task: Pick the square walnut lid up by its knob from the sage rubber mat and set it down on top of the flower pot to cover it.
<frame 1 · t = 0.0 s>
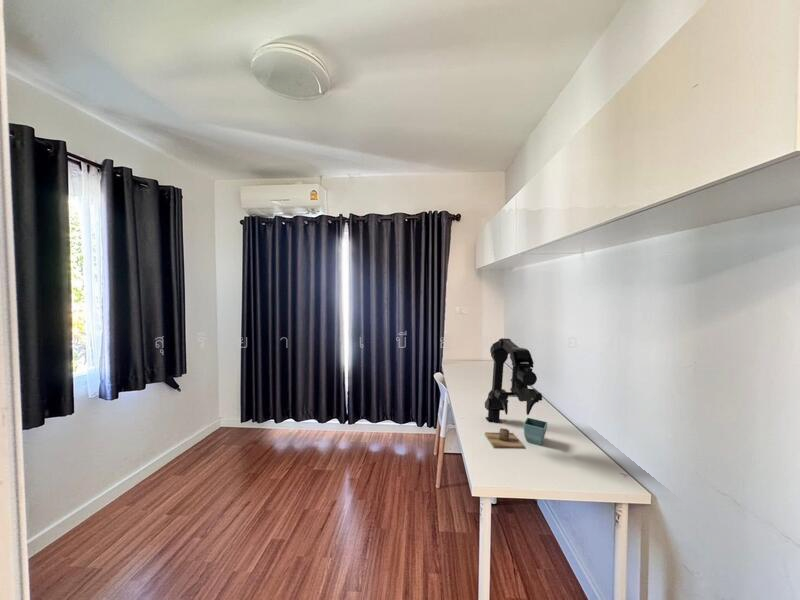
hand: (516, 414, 146), 15 cm above the table, fingers open, 9 cm apart
mat: (503, 442, 152), on the table
lid: (503, 440, 152), resting on mat
flower pot: (534, 442, 152), on the table
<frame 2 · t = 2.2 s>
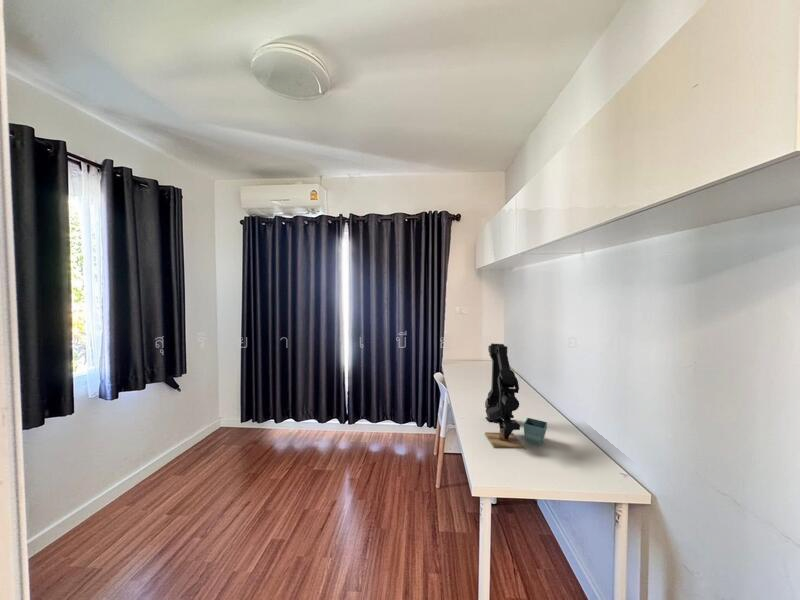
hand: (504, 436, 151), 2 cm above the table, fingers closed on lid, 4 cm apart
lid: (503, 440, 152), resting on mat, touching gripper
everything else where it was.
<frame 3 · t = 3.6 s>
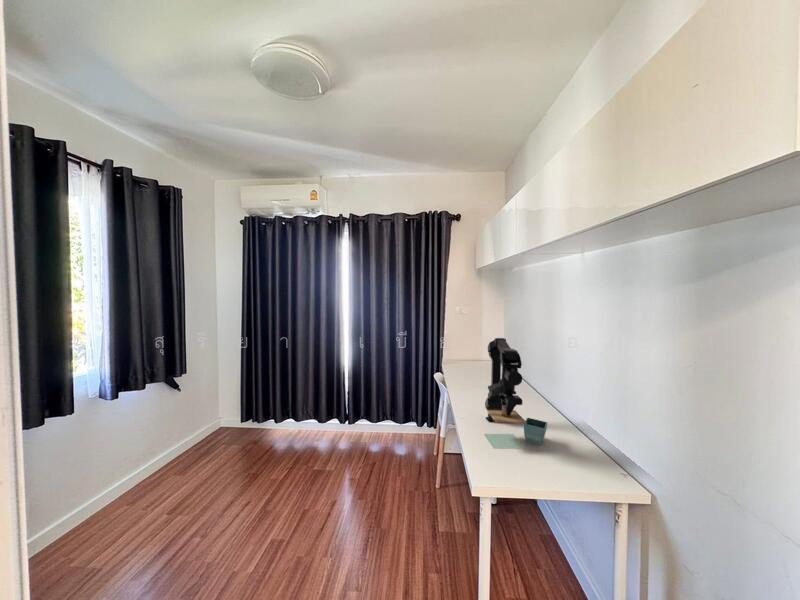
hand: (506, 413, 151), 13 cm above the table, fingers closed on lid, 4 cm apart
lid: (506, 417, 151), point 11 cm above the table, touching gripper
everything else where it was.
when the fingers open (12 cm above the table, at t = 5.0 s): lid drops 1 cm, resting on flower pot.
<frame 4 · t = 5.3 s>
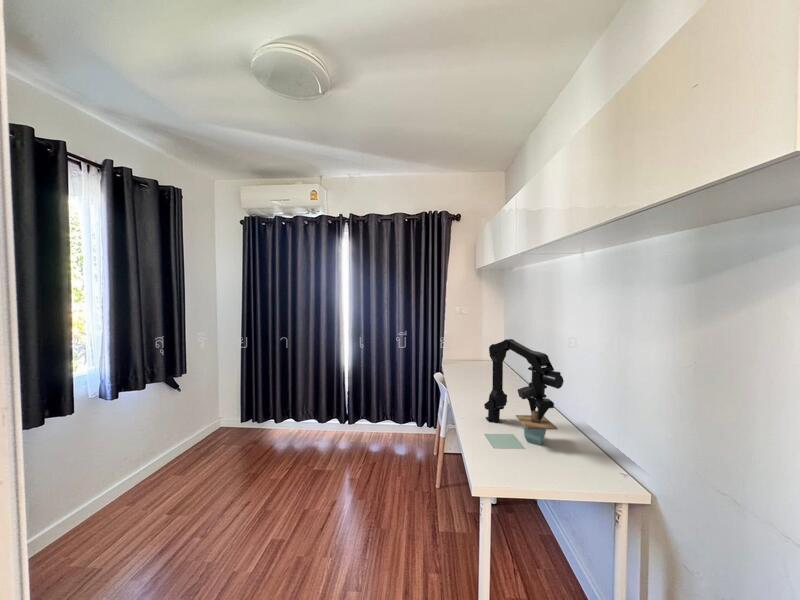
hand: (536, 416, 152), 12 cm above the table, fingers open, 7 cm apart
lid: (535, 422, 152), point 9 cm above the table, touching flower pot
flower pot: (534, 442, 152), on the table, touching lid
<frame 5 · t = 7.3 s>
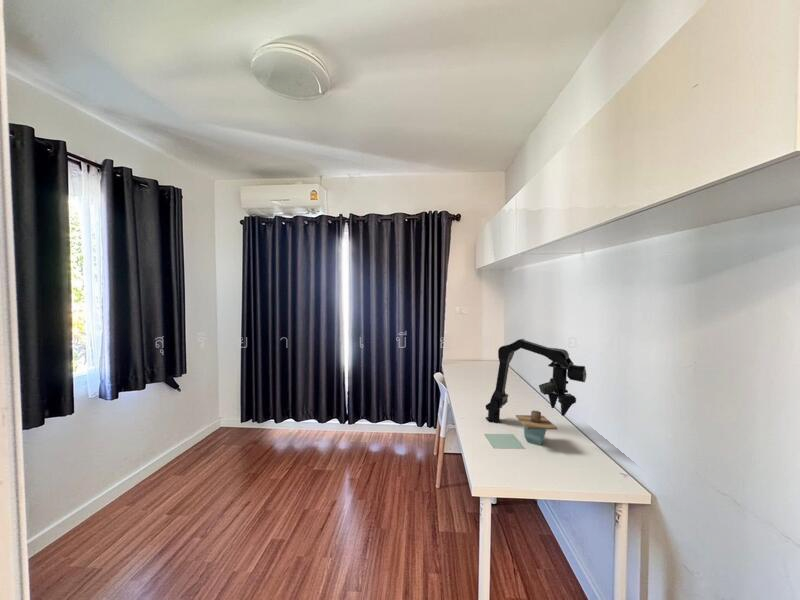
hand: (557, 411, 154), 13 cm above the table, fingers open, 9 cm apart
nothing on the table moved.
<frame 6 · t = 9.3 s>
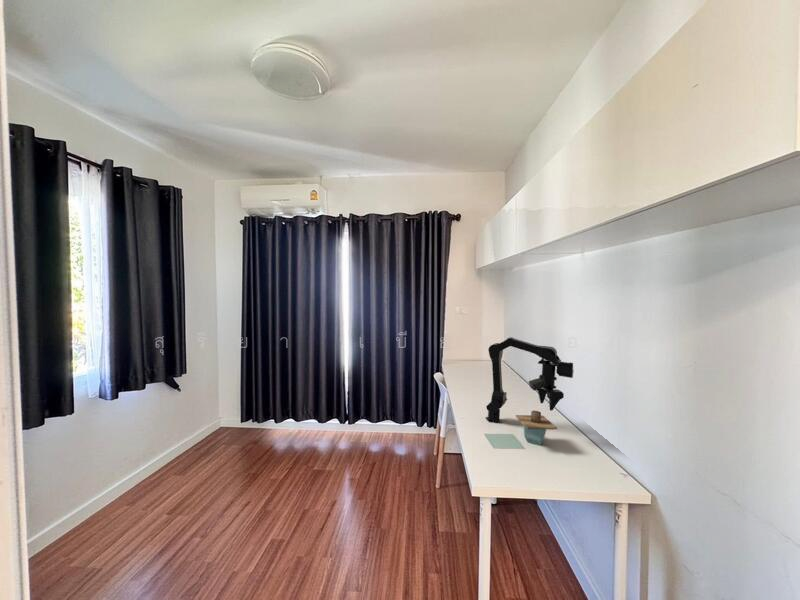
hand: (546, 406, 161), 13 cm above the table, fingers open, 9 cm apart
nothing on the table moved.
at the end: lid 0.1 cm off-centre on the flower pot, point 9.1 cm above the flower pot's base; lid tilted 0°; flower pot tilted 0° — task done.
